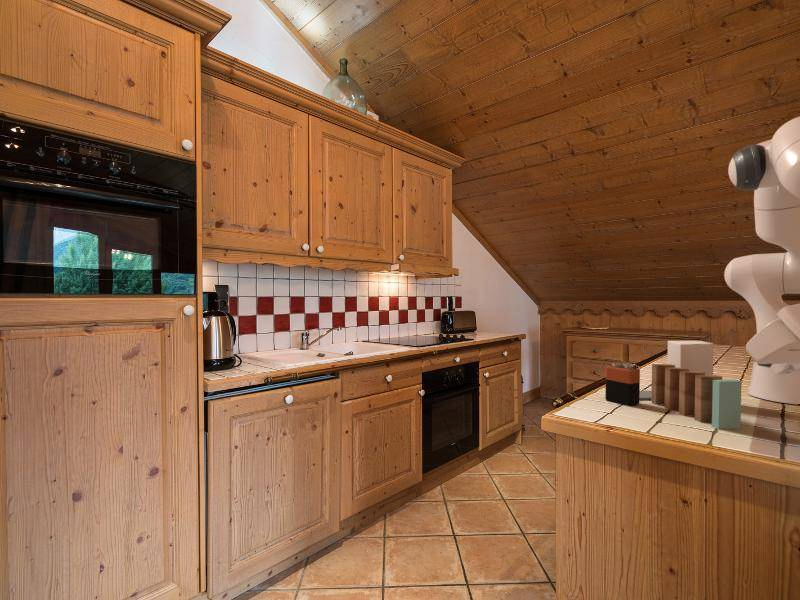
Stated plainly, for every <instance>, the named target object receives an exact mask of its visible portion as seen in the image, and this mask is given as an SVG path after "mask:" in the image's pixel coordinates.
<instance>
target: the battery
mask: <svg viewBox="0 0 800 600" xmlns="http://www.w3.org/2000/svg"><path fill="white" fill-rule="evenodd" d="M640 379H641V369H640V368H638V367H635V365H634V364H629V363H625V364H623V365H620V363H619V362H612V365H607V366H606V367H605V397H604V398H605V400H606V401H607V402H610V401H611V403H615V404H618V405H623V406H627V405H628V407H632V406H636V405H639V404H640V400H639V395H640V391H641V390H640V388H641V387H640V385H641V383H640V381H641V380H640Z"/></svg>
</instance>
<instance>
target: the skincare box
mask: <svg viewBox="0 0 800 600" xmlns="http://www.w3.org/2000/svg"><path fill="white" fill-rule="evenodd" d="M714 347H715V343H713V342H708V341H703V340H667V364H672V365H675V367H685V368H689V371H701V372H705V375H714Z"/></svg>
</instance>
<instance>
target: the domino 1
mask: <svg viewBox="0 0 800 600" xmlns="http://www.w3.org/2000/svg"><path fill="white" fill-rule="evenodd" d="M674 367H675V365H672V364H668V363H661V364H660V363H656V364H655V363H652V364H651V391H652V397H651V400H650V402H652V403H651V404H653V403H654V404H653V405H655V404H665V368H674Z"/></svg>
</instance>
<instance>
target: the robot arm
mask: <svg viewBox="0 0 800 600" xmlns="http://www.w3.org/2000/svg"><path fill="white" fill-rule="evenodd" d="M727 172H728V176H729V180H730V182H731V183H732V184H733V186H734V188H736V189H737V190H739V191H744V192H746V191H747V192H748V191H753V193H754V194H753V207H754V208H753V209H754V210H753V211H754V212H753V213H754V224H755V225H754V226H755V227H754V228H755V233H756V236H758V237H759V238H760V239H761V240H762V241H764V242H767V243H769V244H773V245H777V246H779V247H781V248H782V249H784V250H786V252H776V253H757V254H756V253H755V254H749V255H742V256H739V257H735V258H733V259H732V260H730V261H729V263H727V265H726V267H725V269H724V273H723V276H724V280H725V283H726V285H727V286H728V288H730V290H732V291H734V292H735V293H737V294H739V295H740V296H741V297H742V298H744V300H745V301H746V302H747V303H748V304H749V306H750V307H751V308H752V311H753V313H754V317H755V324H756V326H755V327H756V333H755V334H754V335H753V336H752V338H750V339H749V340H748V342H747V343H746V345H745V349H746V352H747V353H748V354H749V356H750V357H751V359H753V361H754V363H753V365H752V372H751V376H750V385H748V386H747V394H748V395H749V396H751V397H755V398H759V399H762V400H767V401H770V402H778V403H784V404H792V405H798V404H800V303H797V304H796V303H795V304H792V305H790V304H787V303H786V302H784V300H783V298H782V296H783V295H787V294H790V295H800V116H797V117H794V118H792V119H790V120H788V121H787V122H785V123H783V125H781V126H780V127H779V128H777V130H776V131H775V132H774V134H773V135H772V138H771V139H769V140H764V141H762V142H760V143H756V144H753V143H752V144H749V145H747V146H744V147H742V148H740V149H738V150H737V151H736V152H735V153H734V154H733V155H732V156H731V157H730V161H729V164H728V171H727Z"/></svg>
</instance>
